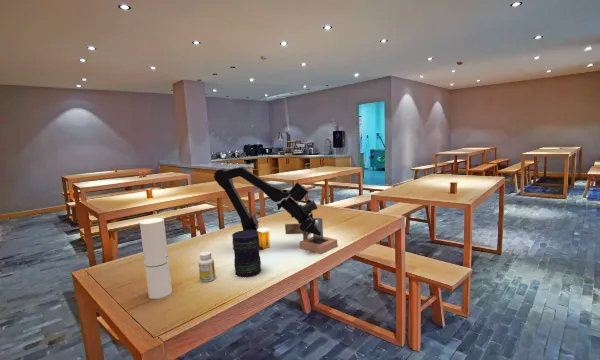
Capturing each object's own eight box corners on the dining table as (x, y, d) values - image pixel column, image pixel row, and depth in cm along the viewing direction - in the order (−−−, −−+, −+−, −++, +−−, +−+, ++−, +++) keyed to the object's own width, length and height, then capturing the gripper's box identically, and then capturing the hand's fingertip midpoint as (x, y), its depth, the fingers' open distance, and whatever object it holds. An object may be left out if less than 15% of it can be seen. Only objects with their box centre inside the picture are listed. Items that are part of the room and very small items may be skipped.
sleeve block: (320, 254, 135) (320, 247, 134) (299, 248, 143) (299, 242, 142) (337, 246, 143) (337, 239, 143) (316, 241, 151) (316, 235, 151)
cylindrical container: (175, 287, 110) (167, 217, 107) (167, 298, 103) (158, 223, 100) (154, 289, 110) (145, 218, 107) (144, 299, 103) (135, 224, 100)
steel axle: (322, 249, 140) (321, 220, 139) (313, 248, 141) (311, 220, 140) (324, 245, 145) (322, 217, 143) (314, 245, 146) (313, 217, 144)
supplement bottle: (209, 274, 120) (207, 249, 119) (218, 277, 116) (216, 252, 115) (197, 279, 116) (194, 254, 114) (205, 283, 112) (203, 257, 111)
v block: (304, 240, 154) (304, 230, 153) (284, 233, 166) (283, 224, 165) (319, 235, 160) (319, 225, 159) (299, 229, 172) (298, 220, 172)
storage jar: (266, 271, 120) (263, 233, 118) (244, 280, 113) (240, 239, 111) (252, 264, 127) (249, 228, 125) (230, 272, 121) (226, 234, 119)
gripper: (306, 199, 131) (334, 224, 132) (305, 191, 149) (330, 213, 150) (288, 219, 132) (316, 243, 133) (289, 209, 150) (314, 230, 152)
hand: (319, 231), depth 142 cm, fingers open, 9 cm apart
